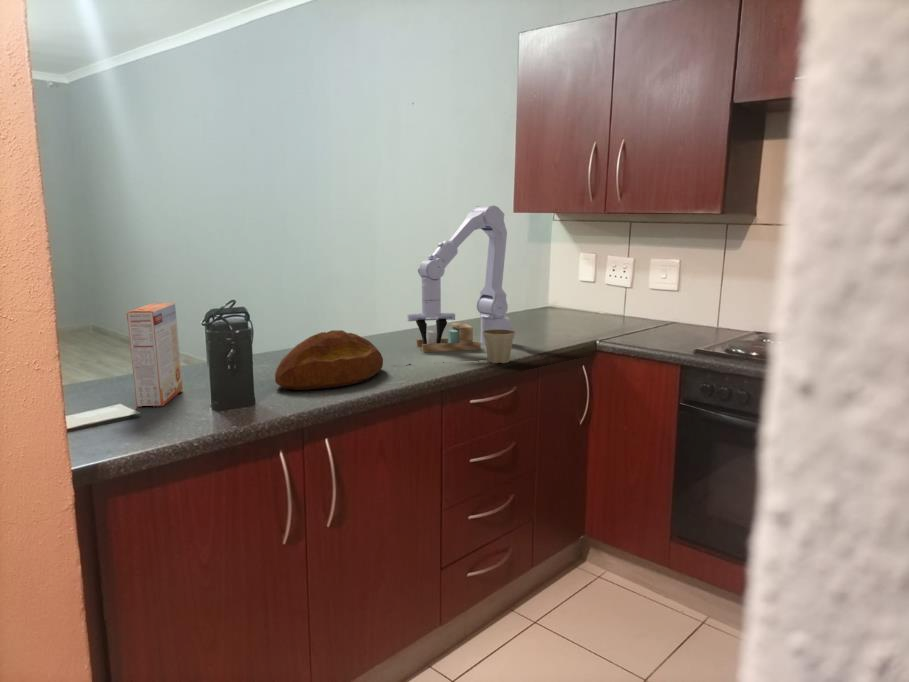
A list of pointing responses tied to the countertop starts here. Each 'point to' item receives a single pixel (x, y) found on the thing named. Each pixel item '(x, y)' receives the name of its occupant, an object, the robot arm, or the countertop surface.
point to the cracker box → (154, 353)
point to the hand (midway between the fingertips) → (431, 343)
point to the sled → (431, 337)
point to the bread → (328, 362)
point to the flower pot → (498, 344)
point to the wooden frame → (463, 344)
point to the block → (453, 336)
